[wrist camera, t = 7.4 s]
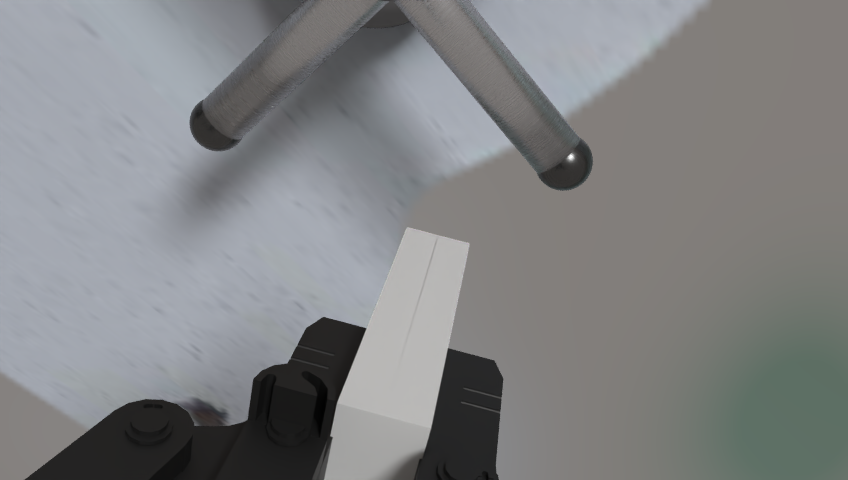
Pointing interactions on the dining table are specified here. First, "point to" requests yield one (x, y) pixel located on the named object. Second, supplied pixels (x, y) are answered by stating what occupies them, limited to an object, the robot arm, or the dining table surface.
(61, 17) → the dining table surface
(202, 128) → the capstan
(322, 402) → the robot arm
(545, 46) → the dining table surface
